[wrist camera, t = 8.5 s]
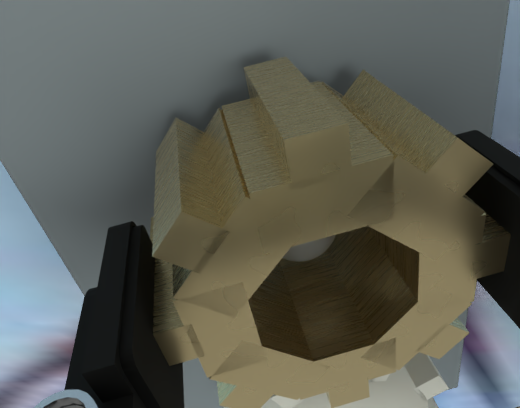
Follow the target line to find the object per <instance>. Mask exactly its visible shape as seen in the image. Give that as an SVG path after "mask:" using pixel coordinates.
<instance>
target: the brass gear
mask: <svg viewBox="0 0 520 408" xmlns="http://www.w3.org/2000/svg"><path fill="white" fill-rule="evenodd" d="M243 68H244V72H245V77H246V82H247V86H248V91H249V96H250V99H246V100H242V101H238V102H235V103H231V104H227V105H223V106H222V109H220V108H218V110H217V111H216V113H215V115H214V116H213V118H212V119H211V121H210V123H209V124H208V126H207V128H206V129H205V131H204V132H203V131H201V130H199V129H197V128H195V127H193V126H191V125H190V124H188V123H186V122H184V121H182V120H180V119H178V118H175V120H174V121H173V123H172V125H171V127H170V128H169V130H168V132H167V134H166V135H165V137H164V139H163V140H162V142H161V144H160V146H159V147H158V149H157V151H156V170H155V196H154V217H151V226H150V239H151V242H152V244H153V248H152V257H155V281H154V318H153V336H154V338H155V340H156V341H157V343H158V345H159V347H160V349H161V351H162V353H163V355H164V357H165V359H166V361H167V362H168V364H169V366H171V365H175V364H178V363H182V362H185V361H189V360H192V359H196V358H198V359H199V361H200V363H201V365H202V367H203V370H204V372H205V374H206V376H207V378H208V377H209V379H211V380H215V381H217V388H218V397H219V405H220V406H225V407H229V408H261V407H262V406H263V405H264V404H265V403H266V402H267V401H268V400H269V399H270V398H271V396H272V395H273V394H274V395H278V396H282V397H286V398H290V399H295V400H298V399H299V398H300V400H302V399H305V398H308V397H312V396H315V395H319V394H322V393H326V394H327V397H328V400H329V403H330V406H331V408H334V407H338V406H341V405H345V404H348V403H351V402H355V401H358V400H362V399H365V398H368V397H370V395H369V382H368V380H370V379H373V378H377V377H380V376H384V375H387V374H391V373H394V372H396V370H400V369H401V368H402V367H403V366H404V365H405V364H407V363H408V362H409V361H410V360H411V359H412V358H413V357H414V356H415V355H416V354H418V353H419V352H420V353H423V354H426V355H428V356H431V357H434V358H437V359H440V358H441V357H443V356H444V355H445V354H446V353H447V352H448V351H449V350H451V349H452V348H453V347H454V346H455V345H456V344H457V343H459V342H460V341H461V340H462V339H463V338H464V337H465V336H467V335H468V334H469V332H468V330H467V329H466V328H465V326H464V325H463V324H462V322H461V321H460V320H459V318H458V316H459V315H460V314H462V313H463V312H464V311H465V310H466V309H467V308H468V307H469V306H470V305H471V304H472V303H471V302H473V301H474V296H475V289H476V282H477V279H478V278H481V277H485V276H488V275H492V274H495V273H499V272H502V271H504V268H505V263H506V257H507V252H508V247H509V242H510V236H511V234H509V233H508V232H507V231H506V230H505V229H504V228H503V227H502V226H501V225H499V224H498V223H497V222H496V221H495V220H494V219H493V218H492V217H490V216H489V215H488V214H487V213H486V212H485V211H484V210H483V209H481V208H480V207H479V206H478V205H477V204H476V203H475V202H474V201H472V200H471V199H470V198H469V197H468V196H467V195H466V194H465V193H466V192H467V191H468V190H469V189H470V188H471V187H472V186H473V185H474V184H475V183H476V182H477V181H478V180H479V179H480V178H481V177H482V176H483V175H484V174H485V173H486V171H487V170H488V169H489V168H490V167H491V166H492V165H493V163H492V162H490V161H489V160H487V159H486V158H485V157H483V156H482V155H481V154H479V153H478V152H477V151H475V150H474V149H473V148H471V147H470V146H468V145H467V144H466V143H464V142H463V141H462V140H460V139H459V138H458V137H456V136H455V135H453V134H452V133H451V132H449V131H448V130H446V129H445V128H444V127H442V126H441V125H440V124H438V123H437V122H435V121H434V120H433V119H431V118H430V117H428V116H427V115H426V114H424V113H423V112H422V111H420V110H419V109H417V108H416V107H415V106H413V105H412V104H410V103H409V102H408V101H406V100H405V99H403V98H402V97H401V96H399V95H398V94H397V93H395V92H394V91H392V90H391V89H390V88H388V87H387V86H385V85H384V84H383V83H381V82H380V81H378V80H377V79H376V78H374V77H373V76H372V75H370V74H369V73H367V72H366V71H365V70H362V71H361V73H360V74H359V76H358V77H357V78H356V80H355V81H354V82H353V84H352V85H351V86H350V88H349V89H348V91H347V92H346V93H345V95H344V96H343V95H342V94H340V93H339V92H337V91H336V90H334V89H333V88H331V87H330V86H328V85H327V84H325V83H324V82H320V81H317V82H313V83H310V82H309V81H308V80H307V79H306V77H305V76H304V75H303V74H302V73H301V72H300V71H299V70H298V69H297V68H296V67H295V66H294V65H293V64H292V62H291V61H290V60H289V59H288V58H287V57H282V58H278V59H274V60H270V61H266V62H262V63H258V64H254V65H250V66H246V67H243ZM333 235H336V236H335V239H334V241H333V242H332V244H331V245H330V247H329V248H328V249H327V250H326V251H325V252H324V253H323V254H321V255H320V256H318V257H316V258H314V259H311V260H308V261H300V262H296V261H289V260H286V259H283V256H284V255H285V254H286V253H287V252H288V250H289V249H290V248H291V247H293V246H296V245H300V244H304V243H307V242H311V241H315V240H318V239H322V238H325V237H329V236H333Z"/></svg>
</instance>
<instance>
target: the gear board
mask: <svg viewBox="0 0 520 408" xmlns="http://www.w3.org/2000/svg"><path fill="white" fill-rule="evenodd" d="M509 1H510V0H0V160H1V162H2V164H3V165H4V167H5V169H6V170H7V172H8V173H9V175H10V177H11V178H12V180H13V181H14V183H15V185H16V186H17V188H18V189H19V191H20V193H21V194H22V196H23V198H24V199H25V201H26V202H27V204H28V206H29V207H30V209H31V210H32V212H33V214H34V215H35V217H36V219H37V220H38V222H39V223H40V225H41V227H42V228H43V230H44V231H45V233H46V235H47V236H48V238H49V239H50V241H51V243H52V244H53V246H54V248H55V249H56V251H57V252H58V254H59V256H60V257H61V259H62V260H63V262H64V264H65V265H66V267H67V269H68V270H69V272H70V273H71V275H72V277H73V278H74V280H75V281H76V283H77V285H78V286H79V288H80V289H81V291H82V293H83V294H84V296H85V294H86V292H87V291H88V290H89V289H91V288H95V287H97V286H98V280H99V275H100V269H101V264H102V259H103V253H104V248H105V243H106V237H107V232H108V228H109V227H112V226H116V225H119V224H123V223H127V222H131V221H133V222H134V223H135V224H136V226H139V225H144V226H145V228H146V230H147V233H148V235H149V237H150V226H151V217H154V196H155V170H156V151H157V149H158V147H159V146H160V144H161V142H162V140H163V139H164V137H165V135H166V134H167V132H168V130H169V128H170V127H171V125H172V123H173V121H174V120H175V118H178V119H180V120H182V121H184V122H186V123H188V124H190V125H191V126H193V127H195V128H197V129H199V130H201V131H203V132H204V131H205V129H206V128H207V126H208V124H209V123H210V121H211V119H212V118H213V116H214V115H215V113H216V111H217V110H218V108H220V109H222V106H223V105H227V104H231V103H235V102H238V101H242V100H246V99H250V96H249V91H248V86H247V82H246V77H245V72H244V68H243V67H246V66H250V65H254V64H258V63H262V62H266V61H270V60H274V59H278V58H282V57H287V58H288V59H289V60H290V61H291V62H292V64H293V65H294V66H295V67H296V68H297V69H298V70H299V71H300V72H301V73H302V74H303V75H304V76H305V77H306V79H307V80H308V81H309V82H310V83H313V82H317V81H320V82H324V83H325V84H327V85H328V86H330V87H331V88H333V89H334V90H336V91H337V92H339V93H340V94H342V95H343V96H344V95H345V93H346V92H347V91H348V89H349V88H350V86H351V85H352V84H353V82H354V81H355V80H356V78H357V77H358V76H359V74H360V73H361V71H362V70H365V71H366V72H367V73H369V74H370V75H372V76H373V77H374V78H376V79H377V80H378V81H380V82H381V83H383V84H384V85H385V86H387V87H388V88H390V89H391V90H392V91H394V92H395V93H397V94H398V95H399V96H401V97H402V98H403V99H405V100H406V101H408V102H409V103H410V104H412V105H413V106H415V107H416V108H417V109H419V110H420V111H422V112H423V113H424V114H426V115H427V116H428V117H430V118H431V119H433V120H434V121H435V122H437V123H438V124H440V125H441V126H442V127H444V128H445V129H446V130H448V131H449V132H451V133H452V134H453V135H457V134H461V133H464V132H468V131H472V130H478V131H480V132H481V133H483V134H485V135H486V136H488V137H489V138H491V134H492V127H493V120H494V112H495V105H496V97H497V90H498V83H499V75H500V68H501V60H502V53H503V45H504V38H505V31H506V23H507V16H508V8H509ZM335 236H336V235H333V236H329V237H325V238H322V239H318V240H315V241H311V242H307V243H304V244H300V245H296V246H293V247H291V248H290V249H289V250H288V252H287V253H286V254H285V255H284V256H283V259H286V260H289V261H296V262H300V261H308V260H311V259H314V258H316V257H318V256H320V255H321V254H323V253H324V252H325V251H326V250H327V249H328V248H329V247H330V245H331V244H332V242H333V241H334V239H335ZM467 312H468V308H467V309H466V310H465V311H464V312H463V313H462V314H460V315H459V316H458V318H459V320H460V321H461V322H462V324H463V325H464V326H465V327H466V320H467ZM463 342H464V338H463V339H462V340H461V341H460V342H459V343H457V344H456V345H455V346H454V347H453V348H452V349H451V350H449V351H448V352H447V353H446V354H445V355H444V356H443V357H441V358H440V359H437V358H434V357H431V356H428V355H426V354H423V353H420V352H419V353H418V354H416V355H415V356H414V357H413V358H412V359H411V360H410V361H409V362H408V363H407V364H405V365H404V366H403V367H402V368H401V369H400V370H396V372H394V373H391V374H387V375H384V376H380V377H377V378H373V379H370V380H368V382H369V395H370V397H368V398H365V399H362V400H358V401H355V402H351V403H348V404H345V405H341V406H338V407H334V408H438V406H437V404H436V402H435V401H434V399H433V397H434V396H436V395H438V394H439V393H441V392H443V391H445V390H449V389H452V388H456V387H457V386H458V379H459V372H460V364H461V357H462V349H463ZM183 384H184V408H229V407H225V406H220V405H219V397H218V388H217V381H215V380H211V379H209V377H208V378H207V376H206V374H205V372H204V370H203V367H202V365H201V363H200V361H199V359H198V358H196V359H192V360H189V361H185V362H183ZM261 408H331V406H330V403H329V400H328V397H327V394H326V393H322V394H319V395H315V396H312V397H308V398H305V399H302V400H300V398H299V399H298V400H295V399H290V398H286V397H282V396H278V395H274V394H273V395H272V396H271V398H270V399H269V400H268V401H267V402H266V403H265V404H264V405H263V406H262V407H261Z"/></svg>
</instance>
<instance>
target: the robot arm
mask: <svg viewBox="0 0 520 408" xmlns="http://www.w3.org/2000/svg"><path fill="white" fill-rule="evenodd" d="M455 136H456V137H458V138H459V139H460V140H462V141H463V142H464V143H466V144H467V145H468V146H470V147H471V148H473V149H474V150H475V151H477V152H478V153H479V154H481V155H482V156H483V157H485V158H486V159H487V160H489V161H490V162H492V163H493V165H492V166H491V167H490V168H489V169H488V170H487V171H486V173H485V174H484V175H483V176H482V177H481V178H480V179H479V180H478V181H477V182H476V183H475V184H474V185H473V186H472V187H471V188H470V189H469V190H468V191H467V192H466V193H465V194H466V195H467V196H468V197H469V198H470V199H471V200H472V201H474V202H475V203H476V204H477V205H478V206H479V207H480V208H481V209H483V210H484V211H485V212H486V213H487V214H488V215H489V216H490V217H492V218H493V219H494V220H495V221H496V222H497V223H498V224H499V225H501V226H502V227H503V228H504V229H505V230H506V231H507V232H508V233H509V234H511V236H510V242H509V247H508V252H507V257H506V263H505V268H504V271H502V272H499V273H495V274H492V275H488V276H485V277H481V278H478V279H477V281H478V282H479V283H480V284H481V285H482V286H483V287H484V289H485V290H486V291H487V292H488V293H489V294H490V295H491V296H492V298H493V299H494V300H495V301H496V302H497V303H498V304H499V306H500V307H501V308H502V309H503V310H504V311H505V312H506V314H507V315H508V316H509V317H510V318H511V319H512V320H513V321H514V323H515V324H516V325H517V326H518V327H519V328H520V157H518V156H517V155H515V154H514V153H512V152H511V151H509V150H508V149H506V148H504V147H503V146H501V145H500V144H498V143H497V142H495V141H494V140H492V139H491V138H489V137H488V136H486V135H485V134H483V133H481V132H480V131H478V130H472V131H468V132H464V133H461V134H457V135H455ZM152 248H153V244H152V242H151V239H150V237H149V235H148V233H147V230H146V228H145V226H144V225H139V226H136V224H135V223H134V222H133V221H131V222H127V223H123V224H119V225H116V226H112V227H109V228H108V232H107V237H106V243H105V248H104V253H103V259H102V264H101V269H100V275H99V280H98V286H97V287H95V288H91V289H89V290H88V291H87V292H86V294H85V297H84V302H83V306H82V311H81V316H80V320H79V325H78V330H77V334H76V339H75V343H74V348H73V353H72V357H71V362H70V367H69V371H68V376H67V381H66V385H65V390H64V391H61V392H58V393H55V394H53V395H51V396H49V397H48V398H46V399H44V400H42V401H41V402H40V403H39V404H38V405H36V406H35V407H34V408H184V384H183V362H182V363H178V364H175V365H171V366H169V364H168V362H167V361H166V359H165V357H164V355H163V353H162V351H161V349H160V347H159V345H158V343H157V341H156V340H155V338H154V336H153V318H154V281H155V257H152ZM516 408H520V406H519V407H516Z"/></svg>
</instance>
